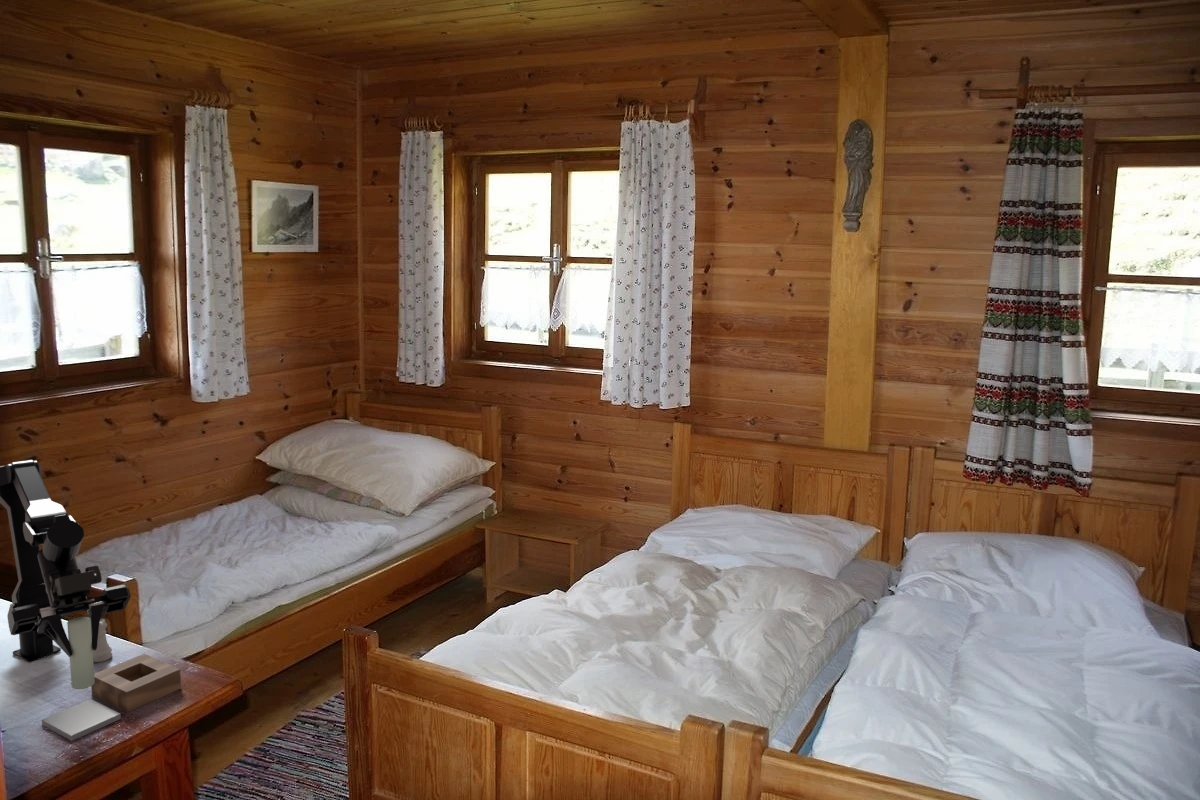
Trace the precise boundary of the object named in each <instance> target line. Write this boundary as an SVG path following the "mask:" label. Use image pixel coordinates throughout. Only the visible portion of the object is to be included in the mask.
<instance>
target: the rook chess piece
mask: <svg viewBox="0 0 1200 800" xmlns="http://www.w3.org/2000/svg"><path fill="white" fill-rule="evenodd" d="M107 627H108V624H107V622H106V619H104V618H103V619H100V623H99V631H98V642H97V649H96V650H93V663H95V662H97V663H96V664H98V663H103V661H104V662H106V661H109V660H110V659H111V658H112V656H113V652H112V651H113V650H112V647H111V646H110V645H109V643H108V640H107V635H106V634H107V630H106V628H107ZM92 649H93V648H92Z"/></svg>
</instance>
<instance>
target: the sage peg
mask: <svg viewBox="0 0 1200 800" xmlns="http://www.w3.org/2000/svg"><path fill="white" fill-rule="evenodd" d="M66 625H67V638H68V641H69V643H70V646H71V650H72V656H71V657H69V669H70V681H71V688H72V689H74V690H84V689H88V688H91V686H92V685H93V684H94V683H95V681H94V674H95V669H94V667H95V666H94V662H93V649H92V633H91V619H90V618H89V617H87V616H76V617H73V618H70V619H68V620H67V624H66Z"/></svg>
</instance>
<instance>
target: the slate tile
mask: <svg viewBox="0 0 1200 800" xmlns="http://www.w3.org/2000/svg"><path fill="white" fill-rule="evenodd" d="M121 719H122V716H121V713H120V712H118V711H116V710H115V709H113V708H112V709H111V708H110V707H108V706H106V705H104V704H102V703H100V702H98V701H95V700H94V699H93V698H92V699H91V698H90V699H88V700H85V701H83V702H80V703H78V704H75V705H73V706H71V707H69V708H65V710H62V711H60V712H57V713H55V714H53V715H52V714H51V715H50V716H47V717H45V718H42V719H41V726H44V727H45V728H47V729H49V730H51V731H53V732H54V733H57V734H58V735H60V736H62V737H64V738H65V739H67V740H70V741H71V742H73V741H74V740H77V739H79V738H81V737H83V736H85V735H88V734H90V733H92V732H94V731H97V730H99V729H101V728H103V727H105V726H108V725H110V724H112V723H114V722H115V723H116V722H117V721H119V720H121Z"/></svg>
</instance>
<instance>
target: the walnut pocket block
mask: <svg viewBox="0 0 1200 800" xmlns="http://www.w3.org/2000/svg"><path fill="white" fill-rule="evenodd" d="M94 681H95V683H94V684H93V685H92V686H91V687H90V688H91V696H93V697H96V698H97V699H100V700H101V701H103V702H106V703H108V704H109V705H112V706H114V707H115V708H118V709H120V710H122V711H124V712H126V713H129V711H130V712H131V710H132V711H134V710H136V709H139V708H141V707H142V706H146V705H147V704H150V703H152V702H154V701H156V700H158V699H161V698H163V697H165V696H167V695H170V694H172V693H173V692H177V691H178V689H179V690H181V688H182V683H181V682H182V681H181V669H180V668H178V667H177V666H174V665H171V664H169V663H167V662H164V661H162V660H159V659H158V658H155V657H153V656H151V655H148V654H146V653H142V654H140V655H138V656H135V657H133V658H130V659H128V660H127V659H126V660H125V661H122V662H120V663H118V664H115V665H113V666H110V667H108V668H104V669H103V670H100V671H98V672H94ZM138 707H139V708H138Z"/></svg>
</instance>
